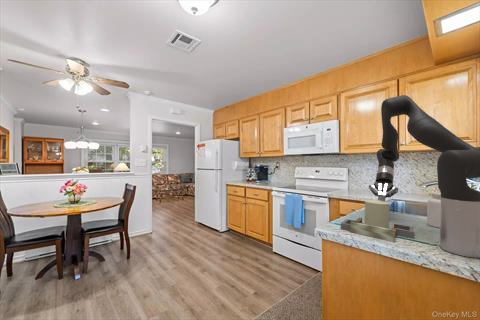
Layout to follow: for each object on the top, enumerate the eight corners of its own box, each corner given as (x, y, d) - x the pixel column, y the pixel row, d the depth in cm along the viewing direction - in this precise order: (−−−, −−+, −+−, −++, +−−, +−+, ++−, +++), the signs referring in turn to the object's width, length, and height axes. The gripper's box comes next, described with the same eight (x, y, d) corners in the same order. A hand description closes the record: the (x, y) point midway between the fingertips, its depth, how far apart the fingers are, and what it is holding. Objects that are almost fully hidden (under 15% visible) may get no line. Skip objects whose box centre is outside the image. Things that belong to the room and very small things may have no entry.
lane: (397, 229, 87) (397, 220, 87) (394, 241, 74) (394, 230, 74) (359, 222, 96) (359, 214, 96) (350, 232, 84) (350, 222, 84)
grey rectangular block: (394, 231, 85) (395, 203, 85) (372, 231, 85) (372, 202, 85) (380, 224, 94) (380, 198, 94) (359, 224, 94) (360, 198, 94)
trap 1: (355, 226, 91) (356, 220, 91) (351, 231, 85) (351, 225, 85) (346, 224, 94) (346, 218, 94) (340, 228, 87) (340, 223, 87)
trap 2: (413, 232, 84) (413, 226, 84) (413, 238, 77) (413, 232, 77) (397, 229, 87) (397, 224, 87) (396, 235, 81) (396, 228, 81)
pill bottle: (453, 230, 87) (453, 195, 87) (428, 226, 92) (428, 193, 92) (449, 225, 94) (449, 193, 94) (425, 222, 99) (426, 191, 99)
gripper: (369, 170, 111) (364, 196, 102) (400, 172, 102) (397, 199, 93) (371, 180, 115) (366, 205, 106) (400, 181, 106) (398, 209, 97)
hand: (381, 202), depth 100 cm, fingers closed
